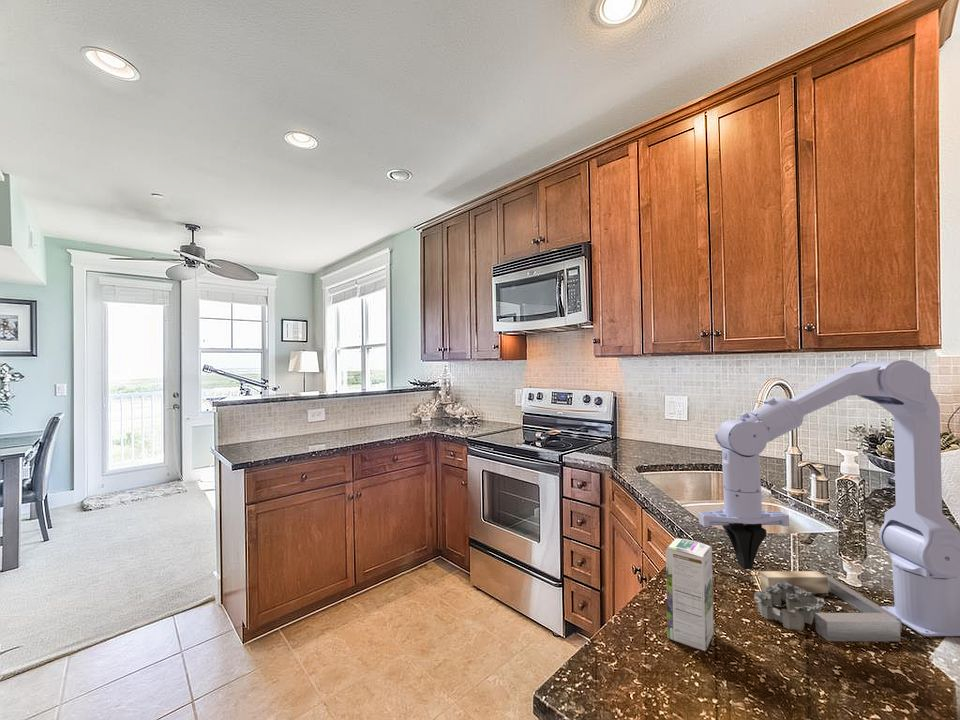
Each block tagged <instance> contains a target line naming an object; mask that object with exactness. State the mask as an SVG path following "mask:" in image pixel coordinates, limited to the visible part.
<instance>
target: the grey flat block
mask: <svg viewBox="0 0 960 720" xmlns="http://www.w3.org/2000/svg"><path fill="white" fill-rule="evenodd" d="M824 575H825V576H826V577H828V592H830V593H832V594H834V595H835V596H836V597H838V598H839V599H841V600H842V601H844V602H845V603H847V604H849V606H852V607H853V608H855V609H857V610H858V611H860V612H821V613H815V617H814V621H815V622H814V623H815V624H814V625H815V633H817V634H818V635H819V636H820V637H822V638H823V639H824V640H825V641H826V642H901V641H902V640H901V633H903V626H902V624H903V623H902V622H901V619H900V618H899V617H897V616H895V615H894V614H892V613H890V612H889V611H887V610H885V609H884V608H882V607H881V606H880V605H878V604H877V603H875V602H873V601H872V600H871V599H868V598H867V597H865V596H864V595H862V594H860V593H859V592H857V591H856V590H854V589H852V588H850V587H848V586H847V585H846V584H844V583H842V582H840V581H838V580H837V579H835V578H834V577H832V576H831V575H829V574H824Z"/></svg>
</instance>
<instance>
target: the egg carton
mask: <svg viewBox="0 0 960 720" xmlns="http://www.w3.org/2000/svg"><path fill="white" fill-rule="evenodd" d="M781 599H783V600H781ZM784 600H786V601H785V604H786V605H785V606H786V608H781V609H778V608H777V607H780V606H779V605H781V606H782V601H784ZM753 601H754V602H755V603H757V612H758V611H759V612H760V613H761V614H760V613H759V612H758V613H759V614H760V615H761V618H762V617H764V618H763V619H765V618H766V619H765V620H767V619H769V620H773V619H775V620H774V621H777V620H779V621H780V623H781V622H782V623H783V624H782V623H781V624H782V627H783V628H785V629H788V630H798V631H803V630H804V629H805V624H809V625H812V624H813V620H814V619H815V613H822V608H823V606H825V601H826V600H825V599H824V598H823V597H821V598H817V597H816V596H815V595H814V593H812V592H810V593H809V592H806V591H805V590H803V589H801V588H798V587H797V586H792V585H791V584H789V583H787V582H786V581H784V580H781V581H780V582H779V583H777V584H776V585H773V586H772V587H771V586H769V587H768V588H766V589H762V590H761V591H755V592H754V594H753ZM773 605H778V606H777V607H772V606H773ZM779 621H778V622H779Z"/></svg>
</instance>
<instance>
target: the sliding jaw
mask: <svg viewBox="0 0 960 720" xmlns="http://www.w3.org/2000/svg"><path fill="white" fill-rule="evenodd" d="M759 574H760V576H759V579H760V588H761V589H762V590H764V589H766V588H768V587H769V586H771V587H772V586H773V585H776V584H777V583H779V582H780V581H781V580H784V581H786V582H787V583H789V584H791V585H792V586H797V587H798V588H801V589H803V590H805V591H806V592H809V593H810V592H812V593H813V594H829V590H828V577H826V576H825V575H826V574H823V573H821V572H819V571H817V570H815V571H814V570H811V571H810V570H807V571H806V570H803V571H802V570H801V571H797V570H796V571H795V570H793V571H792V570H790V571H788V570H787V571H786V570H785V571H783V570H782V571H780V570H778V571H776V570H775V571H774V570H773V571H765V570H763V571H759Z"/></svg>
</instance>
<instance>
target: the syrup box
mask: <svg viewBox="0 0 960 720" xmlns="http://www.w3.org/2000/svg"><path fill="white" fill-rule="evenodd" d="M712 553H713V547H712V546H711V545H708V544H705V543H702V542H698V541H695V540H691V539H686V538H678V537H677V538H675V539H674V540H673V541H672V542H671V544H669V545H668V547H666V549H665V574H666V575H665V577H666V578H665V581H666V582H665V583H666V584H665V585H666V586H665V587H666V626H667V627H666V633H667V634H666V636H667V638H668V639H669V640H672V641H673V642H678V643H680V644H683V645H686V646H687V647H688V646H689V647H692V648H694V649H698V650H700V651H704V652H707V651H708V648H709V646H710V643H711V641H712V638H713V637H714V636H715V635H714V633H715V621H714V579H713V577H714V576H713V554H712Z"/></svg>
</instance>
